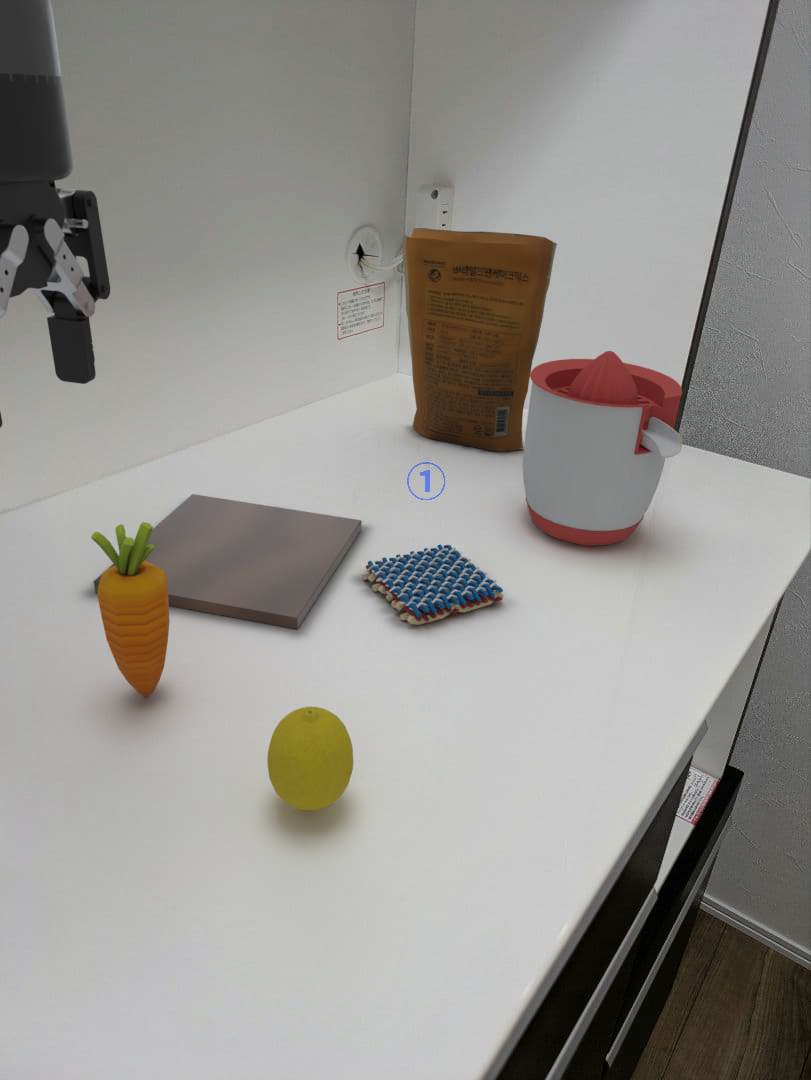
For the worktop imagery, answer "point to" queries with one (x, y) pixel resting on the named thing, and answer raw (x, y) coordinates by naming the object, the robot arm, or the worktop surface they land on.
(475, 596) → the woven mat
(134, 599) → the carrot
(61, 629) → the worktop surface
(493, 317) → the pancake mix bag
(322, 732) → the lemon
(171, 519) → the walnut board
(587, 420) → the citrus juicer
